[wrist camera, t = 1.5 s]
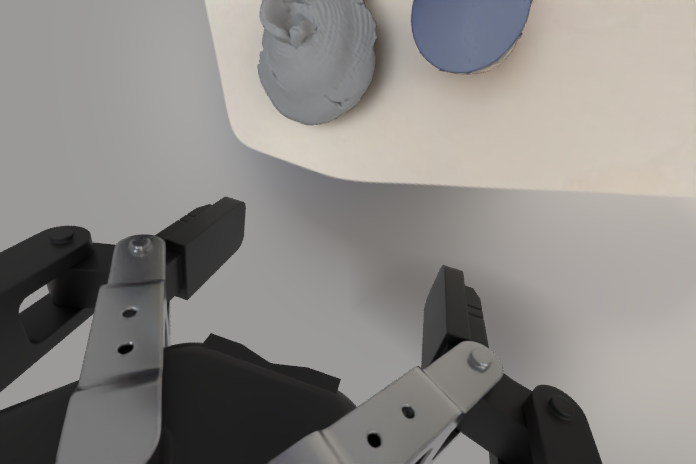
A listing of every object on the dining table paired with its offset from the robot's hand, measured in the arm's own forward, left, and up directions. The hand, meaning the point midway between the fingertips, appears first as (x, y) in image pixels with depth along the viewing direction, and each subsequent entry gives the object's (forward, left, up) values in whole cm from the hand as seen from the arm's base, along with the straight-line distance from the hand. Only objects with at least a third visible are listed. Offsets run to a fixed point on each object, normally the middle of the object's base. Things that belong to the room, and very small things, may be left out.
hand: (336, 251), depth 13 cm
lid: (-10, +1, -12) cm, 16 cm away
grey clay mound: (-7, -12, -22) cm, 26 cm away
